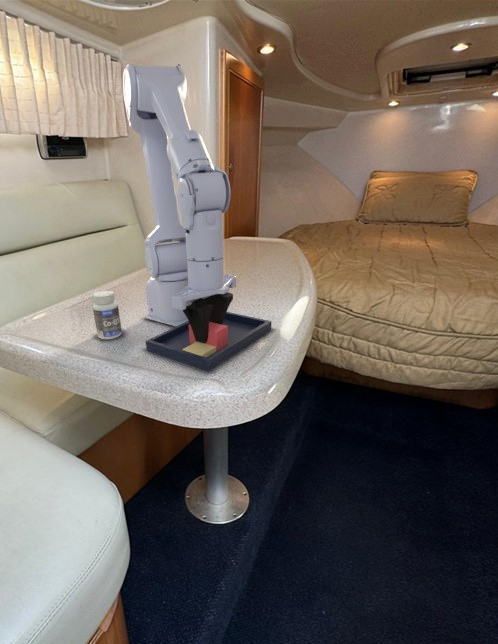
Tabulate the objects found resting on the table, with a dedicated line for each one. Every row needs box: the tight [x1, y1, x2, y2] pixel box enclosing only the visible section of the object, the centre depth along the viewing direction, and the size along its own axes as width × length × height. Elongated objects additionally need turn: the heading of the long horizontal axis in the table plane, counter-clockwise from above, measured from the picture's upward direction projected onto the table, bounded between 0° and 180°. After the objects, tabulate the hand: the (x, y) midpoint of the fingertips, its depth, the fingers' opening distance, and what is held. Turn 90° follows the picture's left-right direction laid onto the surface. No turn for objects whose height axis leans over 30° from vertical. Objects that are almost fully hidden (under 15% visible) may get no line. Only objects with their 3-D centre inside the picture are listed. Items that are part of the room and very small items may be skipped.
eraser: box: [189, 322, 228, 351], centre depth 62 cm, size 6×3×4 cm, turn 49°
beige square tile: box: [182, 341, 216, 358], centre depth 60 cm, size 4×4×1 cm
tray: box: [145, 311, 272, 372], centre depth 66 cm, size 14×20×2 cm
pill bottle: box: [92, 290, 123, 340], centre depth 69 cm, size 5×5×8 cm
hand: (207, 337), depth 62 cm, fingers closed on eraser, 3 cm apart
